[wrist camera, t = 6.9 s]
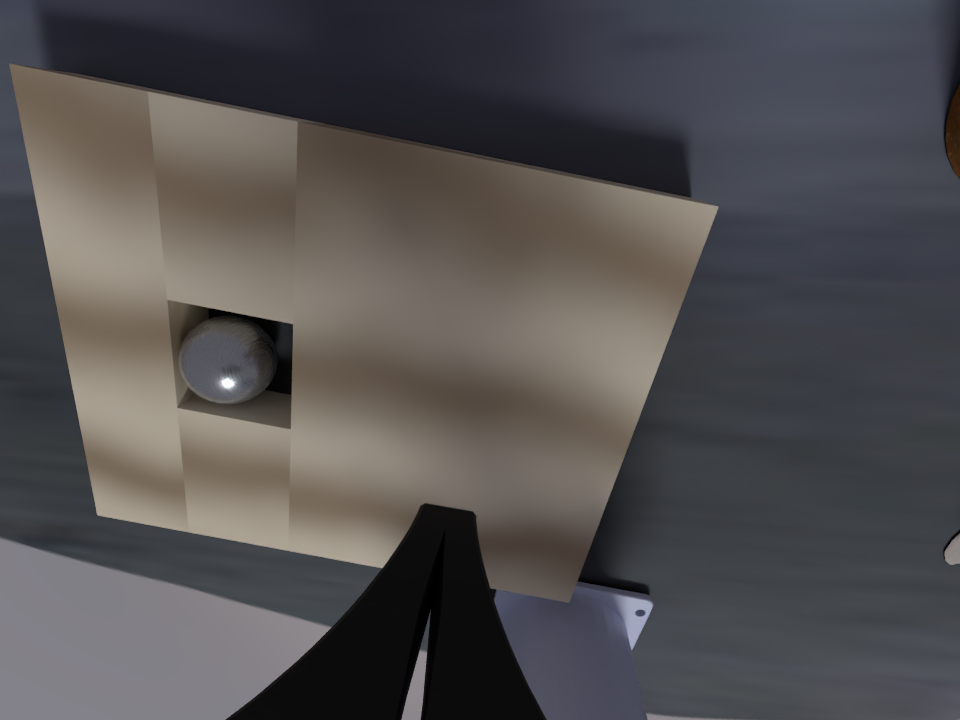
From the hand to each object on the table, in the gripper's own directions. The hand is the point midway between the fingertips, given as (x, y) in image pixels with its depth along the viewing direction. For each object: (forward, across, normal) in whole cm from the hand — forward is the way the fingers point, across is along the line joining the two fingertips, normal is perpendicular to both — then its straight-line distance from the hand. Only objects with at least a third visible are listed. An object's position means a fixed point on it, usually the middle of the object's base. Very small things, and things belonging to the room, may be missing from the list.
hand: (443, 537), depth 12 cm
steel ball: (+8, +10, 0) cm, 12 cm away
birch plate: (+9, +5, 0) cm, 10 cm away
